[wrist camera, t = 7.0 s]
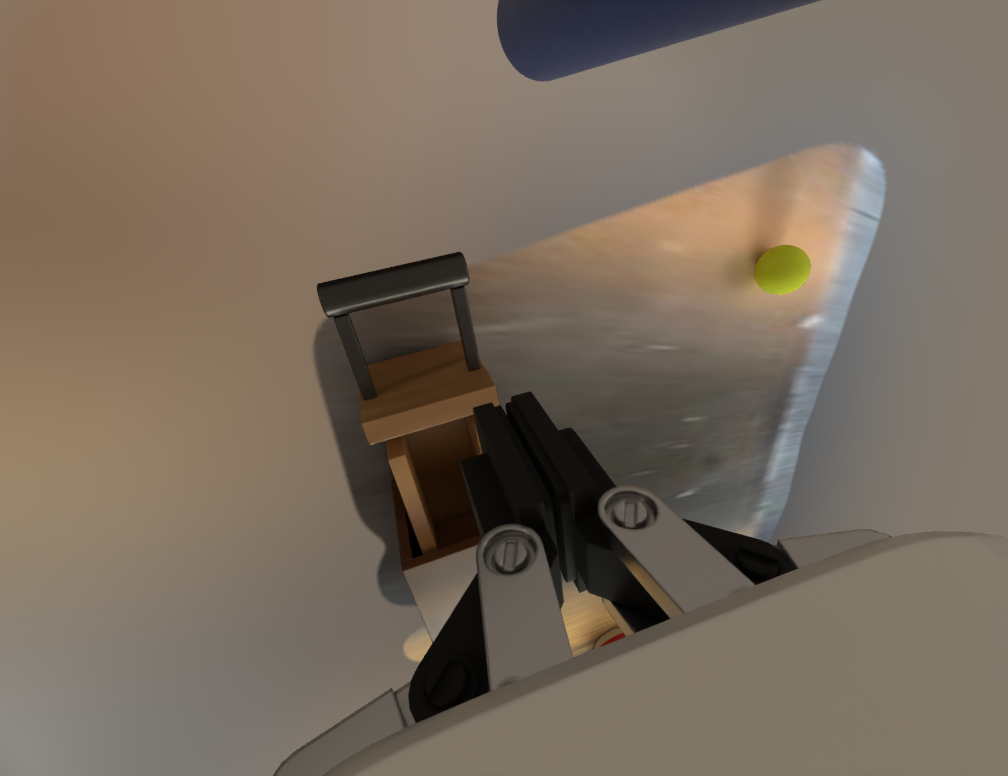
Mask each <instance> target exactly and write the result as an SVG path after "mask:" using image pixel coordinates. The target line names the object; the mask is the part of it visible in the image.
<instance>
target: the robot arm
mask: <svg viewBox="0 0 1008 776" xmlns="http://www.w3.org/2000/svg"><path fill="white" fill-rule="evenodd" d="M506 412H507V416H506V414H505V412H504V410H503V408H502V407H501V405H499V406H495V407H494V405H493V403H492V402H491V403H487V404H483V405H480V406H476V407H473V414H474V418H475V423H476V428H477V432H478V437H479V442H480V446H481V451H482V454H480V455H477V456H473V457H470V458H467V459H463V460H460V465H461V469H462V473H463V477H464V481H465V485H466V489H467V492H468V496H469V499H470V503H471V506H472V509H473V513H474V516H475V519H476V522H477V525H478V528H479V532H480V535H481V538H482V539H481V540H480V542H479V545H478V547H477V551H476V563H477V573H476V575H475V577H474V578H473V580H472V581H471V583H470V585H469V586H468V588H467V589H466V591H465V593H464V594H463V596H462V597H461V599H460V601H459V602H458V604H457V605H456V607H455V608H454V610H453V612H452V613H451V615H450V616H449V618H448V620H447V621H446V623H445V624H444V626H443V628H442V629H441V631H440V632H439V634H438V636H437V637H436V639H435V640H434V642H433V643H432V645H431V647H430V648H429V650H428V651H427V653H426V655H425V656H424V658H423V659H422V661H421V663H420V664H419V666H418V667H417V669H416V671H415V673H414V675H413V678H412V680H411V682H409V683H407V684H406V685H404V686H403V687H401V688H400V689H398V690H397V691H395V692H394V691H393V690H392V688H391V689H389V690H388V691H386V692H385V693H383V694H382V695H380V696H379V697H377V698H375V699H374V700H372V701H371V702H369V703H368V704H366V705H365V706H363V707H362V708H360V709H359V710H357V711H355V712H354V713H353V714H351V715H349V716H348V717H346V718H345V719H343V720H342V721H340V722H339V723H337V724H336V725H334V726H333V727H331V728H330V729H328V730H327V731H325V732H324V733H322V734H320V735H319V736H317V737H316V738H314V739H313V740H311V741H310V742H308V743H307V744H305V745H304V746H302V747H300V748H299V749H297V750H296V751H295V752H294V753H292V754H291V755H290V756H289V757H288V758H287V759H286V760H285V761H283V762H282V763H281V765H280V766H279V767H278V769H277V770H276V772H275V773H274V775H273V776H1008V538H1006V537H1002V536H997V535H990V534H984V533H973V532H936V531H935V532H923V533H914V534H906V535H900V536H895V537H891V536H889V535H887V534H885V533H882V532H878V531H874V530H851V531H844V532H836V533H828V534H820V535H812V536H805V537H797V538H789V539H781V540H778V542H777V545H771V544H769V543H767V542H764V541H762V540H759V539H756V538H752V537H748V536H745V535H741V534H737V533H733V532H730V531H726V530H722V529H719V528H715V527H711V526H708V525H704V524H700V523H697V522H693V521H689V520H686V519H682V518H680V517H679V516H678V515H677V514H676V513H675V512H674V511H673V510H671V509H670V508H669V507H668V506H667V505H666V504H665V503H664V502H663V501H661V500H660V499H659V498H658V497H657V496H656V495H654V494H653V493H651V492H650V491H648V490H646V489H643V488H640V487H636V486H619V487H616V486H615V484H614V483H613V482H612V480H611V479H610V478H609V476H608V475H607V474H606V472H605V471H604V470H603V468H602V467H601V466H600V464H599V463H598V462H597V460H596V459H595V458H594V456H593V455H592V454H591V452H590V451H589V450H588V448H587V447H586V446H585V444H584V443H583V442H582V440H581V439H580V438H579V436H578V435H577V434H576V432H575V431H574V430H573V429H572V428H566V429H563V430H560V431H558V430H557V428H556V427H555V425H554V424H553V422H552V421H551V420H550V418H549V417H548V415H547V414H546V412H545V411H544V409H543V408H542V407H541V405H540V404H539V402H538V401H537V399H536V398H535V396H534V395H533V394H532V392H526V393H523V394H519V395H515V396H512V397H511V402H509V403H506ZM560 570H561V573H562V575H563V577H564V579H565V580H566V582H570V581H574V583H575V585H576V587H577V589H578V591H579V593H580V592H583V591H586V590H588V592H589V593H591V594H594V595H596V596H599V597H601V599H602V602H603V604H604V606H605V608H606V610H607V611H608V612H609V614H610V615H611V616H612V618H613V619H614V620H615V622H616V623H617V625H618V626H619V627H620V629H621V630H622V631H623V633H624V634H625V636H626V637H624V638H622V639H619V640H617V641H614V642H612V643H609V644H607V645H604V646H602V647H599V648H597V649H594V650H592V651H589V652H587V653H584V654H582V655H579V656H577V657H574V658H573V656H572V652H571V648H570V644H569V641H568V637H567V633H566V629H565V625H564V622H563V618H562V614H561V607H562V605H563V603H564V599H563V591H562V582H561V573H560Z"/></svg>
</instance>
